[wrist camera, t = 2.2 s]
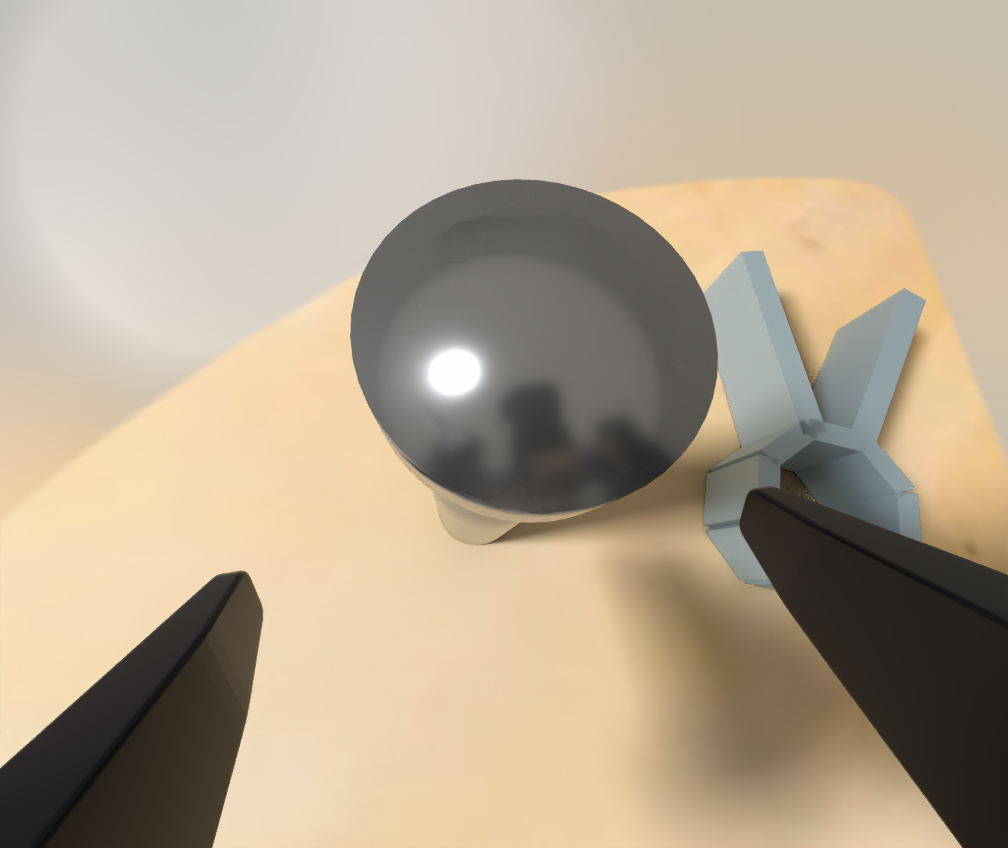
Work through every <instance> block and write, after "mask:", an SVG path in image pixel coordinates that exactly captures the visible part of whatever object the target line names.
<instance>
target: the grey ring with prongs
mask: <svg viewBox="0 0 1008 848" xmlns="http://www.w3.org/2000/svg"><path fill="white" fill-rule="evenodd" d="M704 296H705V299H706V301H707V304H708V307H709V309H710V312H711V315H712V319H713V324H714V328H715V332H716V340H717V350H718V369H719V373H720V376H721V379H722V383H723V386H724V390H725V393H726V396H727V400H728V403H729V407H730V410H731V413H732V417H733V420H734V424H735V427H736V430H737V434H738V437H739V441H740V444H741V448H739V449H738V450H736V451H735V452H734V453H732V454H731V455H729V456H728V457H726V458H725V459H724V460H722V461H721V462H719V463H718V464H716V465H715V466H714V467H712V468H711V469H710V471H711V473H709V474H707V479H706V492H705V506H704V519H703V525H704V526H709V527H710V528H709V529H708V530H706V531H705V532H706V534H707V535H708V537H709V538H710V539H711V541H712V542H713V543H714V545H715V546H716V548H717V549H718V550H719V552H720V553H721V555H722V556H723V557H724V559H725V560H726V562H727V563H728V564H729V566H730V567H731V569H732V570H733V571H734V573H735V574H736V575H737V577H738V578H739V579H745V583H746V584H750V585H755V586H759V587H763V588H767V589H771V590H775V589H774V587H773V586H772V584H771V582H770V581H769V579H768V577H767V576H766V574H765V572H764V571H763V569H762V567H761V566H760V564H759V562H758V561H757V559H756V557H755V556H754V554H753V552H752V551H751V549H750V547H749V546H748V544H747V542H746V541H745V539H744V537H743V536H742V534H741V531H740V527H739V521H740V517H741V513H742V510H743V506H744V502H745V498H746V495H747V493H748V492H749V491H750V490H751V489H753V488H758V487H765V486H774V487H777V488H779V489H780V468H783V469H787V470H791V471H794V472H795V474H796V475H797V476H798V477H799V479H800V480H801V481H802V483H803V484H804V485H805V486H806V488H807V489H808V490H809V491H810V493H811V494H812V495H813V496H814V498H815V499H816V500H817V502H818V503H819V504H822V505H824V506H827V507H830V508H832V509H835V510H838V511H840V512H843V513H845V514H848V515H851V516H853V517H856V518H859V519H861V520H864V521H867V522H869V523H872V524H875V525H877V526H880V527H882V528H885V529H888V530H890V531H893V532H896V533H898V534H901V535H904V536H906V537H909V538H912V539H914V540H917V541H919V542H922V538H921V526H920V514H919V501H918V494H916V493H912V492H909V491H910V490H912V489H913V488H914V485H913V484H912V483H911V482H910V481H909V479H908V478H907V477H906V476H905V475H904V474H903V472H902V471H901V470H900V469H899V468H898V467H897V465H896V464H895V463H894V462H893V461H892V459H891V458H890V457H889V456H888V455H887V454H886V452H885V451H884V450H883V449H882V448H881V447H880V445H879V444H878V443H877V440H878V437H879V435H880V432H881V429H882V426H883V423H884V420H885V417H886V414H887V411H888V408H889V406H890V403H891V400H892V397H893V394H894V391H895V388H896V385H897V382H898V380H899V377H900V374H901V371H902V368H903V365H904V362H905V359H906V356H907V353H908V351H909V348H910V345H911V342H912V339H913V336H914V333H915V330H916V327H917V325H918V322H919V319H920V316H921V313H922V310H923V307H924V304H925V301H926V300H924V299H922V298H921V297H919V296H917V295H915V294H913V293H912V292H910V291H908V290H906V289H905V288H904V289H902V290H901V291H899V292H898V293H896V294H894V295H893V296H891V297H890V298H888V299H886V300H885V301H883V302H882V303H880V304H878V305H877V306H875V307H874V308H872V309H870V310H869V311H867V312H865V313H864V314H862V315H861V316H859V317H857V318H856V319H854V320H853V321H851V322H849V323H848V324H846V325H845V326H843V327H841V328H840V329H838V330H837V333H836V335H835V337H834V340H833V342H832V345H831V347H830V349H829V352H828V354H827V357H826V359H825V361H824V364H823V366H822V368H821V371H820V373H819V376H818V378H817V380H816V383H815V385H814V387H813V390H812V388H811V385H810V382H809V380H808V377H807V374H806V371H805V368H804V365H803V363H802V360H801V357H800V354H799V351H798V349H797V346H796V343H795V340H794V337H793V334H792V332H791V329H790V326H789V323H788V320H787V318H786V315H785V312H784V309H783V306H782V303H781V301H780V298H779V295H778V292H777V289H776V287H775V284H774V281H773V278H772V275H771V272H770V270H769V267H768V264H767V261H766V258H765V256H764V253H763V251H752V252H741V253H740V254H739V255H738V256H737V257H736V258H735V259H734V260H733V262H732V263H731V264H730V265H729V266H728V267H727V268H726V269H725V270H724V271H723V273H722V274H721V275H720V276H719V277H718V278H717V279H716V280H715V281H714V282H713V284H712V285H711V286H710V287H709V288H708V289H707V290H706V291H705V292H704Z"/></svg>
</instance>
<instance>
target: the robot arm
mask: <svg viewBox="0 0 1008 848" xmlns="http://www.w3.org/2000/svg"><path fill="white" fill-rule="evenodd" d="M739 527H740V531H741V534H742V536H743V537H744V539H745V541H746V542H747V544H748V546H749V547H750V549H751V551H752V552H753V554H754V556H755V557H756V559H757V561H758V562H759V564H760V566H761V567H762V569H763V571H764V572H765V574H766V576H767V577H768V579H769V581H770V582H771V584H772V586H773V587H774V589H775V591H776V592H777V594H778V595H779V597H780V599H781V600H782V602H783V603H784V605H785V606H786V608H787V609H788V611H789V612H790V613H791V615H792V616H793V618H794V619H795V620H796V622H797V623H798V625H799V626H800V627H801V629H802V630H803V631H804V633H805V634H806V635H807V637H808V638H809V640H810V641H811V642H812V644H813V645H814V646H815V648H816V649H817V650H818V652H819V653H820V654H821V656H822V657H823V659H824V660H825V661H826V663H827V664H828V665H829V667H830V668H831V669H832V671H833V672H834V674H835V675H836V676H837V678H838V679H839V680H840V682H841V683H842V684H843V686H844V687H845V689H846V690H847V691H848V693H849V694H850V695H851V697H852V698H853V699H854V701H855V702H856V704H857V705H858V706H859V708H860V709H861V710H862V712H863V713H864V714H865V716H866V717H867V719H868V720H869V721H870V723H871V724H872V725H873V727H874V728H875V729H876V731H877V732H878V733H879V735H880V736H881V738H882V739H883V740H884V742H885V743H886V744H887V746H888V747H889V748H890V750H891V751H892V753H893V754H894V755H895V757H896V758H897V759H898V761H899V762H900V763H901V765H902V766H903V768H904V769H905V770H906V772H907V773H908V774H909V776H910V777H911V778H912V780H913V781H914V783H915V784H916V785H917V787H918V788H919V789H920V791H921V792H922V793H923V795H924V796H925V798H926V799H927V800H928V802H929V803H930V804H931V806H932V807H933V808H934V810H935V811H936V812H937V814H938V815H939V817H940V818H941V819H942V821H943V822H944V823H945V825H946V826H947V827H948V829H949V830H950V832H951V833H952V834H953V836H954V837H955V838H956V840H957V841H958V842H959V844H960V845H961V847H962V848H1008V575H1007V574H1004V573H1001V572H999V571H996V570H993V569H991V568H988V567H986V566H983V565H980V564H978V563H975V562H972V561H970V560H967V559H964V558H962V557H959V556H956V555H954V554H951V553H949V552H946V551H943V550H941V549H938V548H935V547H933V546H930V545H927V544H925V543H922V542H919V541H917V540H914V539H912V538H909V537H906V536H904V535H901V534H898V533H896V532H893V531H890V530H888V529H885V528H882V527H880V526H877V525H875V524H872V523H869V522H867V521H864V520H861V519H859V518H856V517H853V516H851V515H848V514H845V513H843V512H840V511H838V510H835V509H832V508H830V507H827V506H824V505H822V504H819V503H816V502H814V501H811V500H808V499H806V498H803V497H801V496H798V495H795V494H793V493H790V492H787V491H785V490H782V489H779V488H777V487H774V486H765V487H758V488H753V489H751V490H750V491H749V492H748V493H747V495H746V498H745V502H744V506H743V510H742V513H741V517H740V521H739ZM262 622H263V608H262V604H261V601H260V599H259V597H258V594H257V592H256V590H255V587H254V585H253V583H252V580H251V578H250V576H249V574H248V573H247V572H245V571H235V572H229V573H223V574H219V575H217V576H215V577H214V578H213V579H211V580H210V581H209V582H208V583H207V584H206V585H205V586H204V587H202V588H201V589H200V590H199V591H198V592H197V593H196V594H195V595H193V596H192V597H191V598H190V599H189V600H188V601H187V602H186V603H185V604H183V605H182V606H181V607H180V608H179V609H178V610H177V611H176V612H174V613H173V614H172V615H171V616H170V617H169V618H168V619H167V620H165V621H164V622H163V623H162V624H161V625H160V626H159V627H158V628H157V629H155V630H154V631H153V632H152V633H151V634H150V635H149V636H148V637H146V638H145V639H144V640H143V641H142V642H141V643H140V644H139V645H138V646H136V647H135V648H134V649H133V650H132V651H131V652H130V653H129V654H127V655H126V656H125V657H124V658H123V659H122V660H121V661H120V662H119V663H117V664H116V665H115V666H114V667H113V668H112V669H111V670H110V671H108V672H107V673H106V674H105V675H104V676H103V677H102V678H101V679H100V680H98V681H97V682H96V683H95V684H94V685H93V686H92V687H91V688H89V689H88V690H87V691H86V692H85V693H84V694H83V695H82V696H81V697H79V698H78V699H77V700H76V701H75V702H74V703H73V704H72V705H70V706H69V707H68V708H67V709H66V710H65V711H64V712H63V713H61V714H60V715H59V716H58V717H57V718H56V719H55V720H54V721H53V722H51V723H50V724H49V725H48V726H47V727H46V728H45V729H44V730H42V731H41V732H40V733H39V734H38V735H37V736H36V737H35V738H34V739H32V740H31V741H30V742H29V743H28V744H27V745H26V746H25V747H23V748H22V749H21V750H20V751H19V752H18V753H17V754H16V755H15V756H13V757H12V758H11V759H10V760H9V761H8V762H7V763H6V764H4V765H3V766H2V767H1V768H0V848H212V847H213V843H214V840H215V836H216V832H217V828H218V825H219V821H220V817H221V813H222V810H223V806H224V802H225V799H226V795H227V791H228V787H229V784H230V780H231V776H232V773H233V769H234V765H235V761H236V758H237V754H238V750H239V747H240V743H241V739H242V735H243V731H244V727H245V723H246V719H247V715H248V709H249V704H250V698H251V692H252V685H253V679H254V673H255V666H256V660H257V654H258V647H259V641H260V635H261V628H262Z"/></svg>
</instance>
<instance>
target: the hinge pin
mask: <svg viewBox="0 0 1008 848" xmlns="http://www.w3.org/2000/svg"><path fill="white" fill-rule="evenodd" d="M350 338H351V347H352V356H353V362H354V366H355V370H356V374H357V377H358V381H359V384H360V387H361V389H362V391H363V394H364V396H365V398H366V401H367V403H368V405H369V407H370V409H371V411H372V413H373V415H374V417H375V419H376V421H377V422H378V424H379V426H380V428H381V430H382V432H383V434H384V436H385V438H386V439H387V441H388V442H389V444H390V446H391V447H392V449H393V451H394V452H395V454H396V455H397V456H398V458H399V459H400V460H401V461H402V462H403V464H404V465H405V466H406V467H407V469H408V470H409V471H410V472H411V473H412V474H413V475H415V476H416V477H417V478H418V479H419V480H420V481H421V482H422V483H423V484H424V485H425V486H427V487H428V488H430V489H431V490H432V491H433V493H434V497H435V501H436V504H437V508H438V512H439V515H440V519H441V522H442V524H443V526H444V527H445V529H446V530H447V532H448V533H449V534H450V535H451V536H452V537H454V538H455V539H457V540H458V541H460V542H463V543H465V544H470V545H483V544H487V543H490V542H492V541H494V540H496V539H497V538H499V537H500V536H502V535H503V534H505V533H506V532H507V531H509V530H510V529H512V528H513V527H514V526H516V525H517V524H519V523H520V522H526V523H532V522H550V521H556V520H561V519H566V518H571V517H574V516H577V515H580V514H583V513H586V512H589V511H592V510H594V509H597V508H599V507H601V506H604V505H606V504H608V503H611V502H613V501H615V500H618V499H620V498H622V497H624V496H626V495H628V494H630V493H632V492H634V491H636V490H638V489H640V488H642V487H644V486H646V485H647V484H648V483H650V482H651V481H653V480H654V479H655V478H657V477H658V476H660V475H661V474H662V473H664V472H665V471H666V470H667V469H668V468H669V467H670V466H671V465H672V464H673V463H674V462H675V461H676V460H677V459H678V458H679V457H680V456H682V454H683V453H684V452H685V450H686V449H687V448H688V446H689V445H690V444H691V442H692V441H693V440H694V438H695V437H696V435H697V433H698V431H699V429H700V428H701V426H702V424H703V422H704V420H705V418H706V416H707V413H708V410H709V407H710V404H711V402H712V399H713V395H714V389H715V384H716V379H717V366H718V350H717V340H716V332H715V328H714V324H713V319H712V315H711V312H710V309H709V307H708V304H707V301H706V299H705V296H704V294H703V292H702V290H701V288H700V286H699V284H698V282H697V280H696V278H695V276H694V275H693V273H692V272H691V270H690V269H689V267H688V266H687V265H686V263H685V262H684V260H683V259H682V257H681V256H680V255H679V254H678V253H677V252H676V251H675V249H674V248H673V247H672V246H671V245H670V244H669V242H668V241H666V240H665V239H664V238H663V237H662V236H661V235H660V234H659V233H658V232H657V231H656V230H655V229H654V228H652V227H651V226H650V225H648V224H647V223H646V222H644V221H643V220H642V219H640V218H639V217H638V216H636V215H635V214H633V213H631V212H630V211H628V210H627V209H625V208H623V207H622V206H620V205H618V204H616V203H614V202H612V201H610V200H608V199H606V198H603V197H601V196H599V195H596V194H594V193H591V192H588V191H585V190H582V189H579V188H576V187H572V186H568V185H564V184H559V183H553V182H546V181H539V180H517V179H516V180H501V181H492V182H486V183H481V184H475V185H471V186H468V187H465V188H462V189H458V190H455V191H452V192H450V193H447V194H446V195H443V196H441V197H438V198H436V199H434V200H432V201H430V202H429V203H427V204H425V205H424V206H422V207H420V208H419V209H417V210H416V211H414V212H413V213H412V214H410V215H409V216H408V217H406V218H405V219H404V220H403V221H401V222H400V223H399V224H398V225H397V226H396V227H395V228H394V229H393V230H392V231H391V232H390V233H389V234H388V235H387V236H386V237H385V239H384V240H383V241H382V243H381V244H380V245H379V247H378V248H377V249H376V251H375V252H374V253H373V255H372V257H371V259H370V261H369V262H368V264H367V266H366V268H365V270H364V272H363V274H362V277H361V279H360V282H359V285H358V288H357V291H356V294H355V299H354V304H353V309H352V314H351V334H350Z"/></svg>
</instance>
